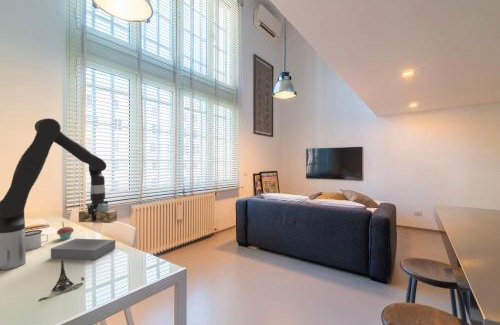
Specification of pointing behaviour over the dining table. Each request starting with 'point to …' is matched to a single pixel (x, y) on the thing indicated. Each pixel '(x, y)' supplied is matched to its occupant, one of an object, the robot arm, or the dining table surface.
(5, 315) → the dining table surface
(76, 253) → the dock
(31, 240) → the mug
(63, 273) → the eiffel tower figurine
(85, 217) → the brown wooden box
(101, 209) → the crate
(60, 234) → the cupcake
